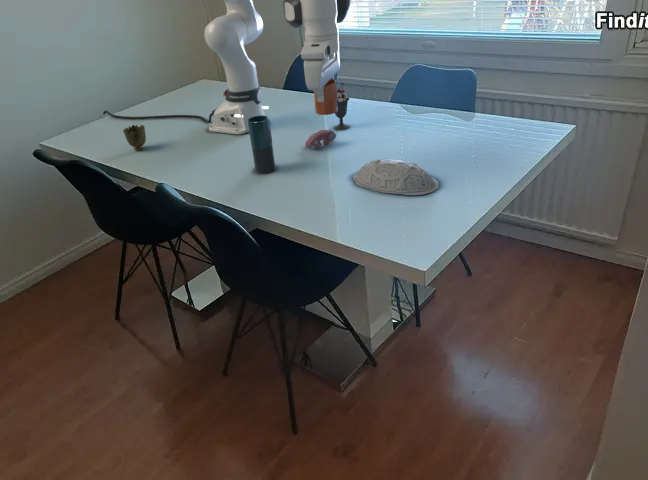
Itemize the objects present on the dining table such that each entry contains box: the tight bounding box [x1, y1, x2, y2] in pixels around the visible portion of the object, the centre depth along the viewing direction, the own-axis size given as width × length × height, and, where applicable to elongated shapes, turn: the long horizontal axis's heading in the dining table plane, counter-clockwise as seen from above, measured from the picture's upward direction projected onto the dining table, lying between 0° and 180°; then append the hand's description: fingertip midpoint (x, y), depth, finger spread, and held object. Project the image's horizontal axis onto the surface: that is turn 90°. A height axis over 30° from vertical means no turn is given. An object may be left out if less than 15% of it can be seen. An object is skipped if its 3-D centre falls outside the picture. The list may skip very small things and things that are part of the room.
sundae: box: [334, 82, 350, 131], centre depth 190 cm, size 7×7×15 cm
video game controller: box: [304, 128, 337, 149], centre depth 179 cm, size 10×5×7 cm, turn 117°
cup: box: [313, 79, 338, 116], centre depth 153 cm, size 6×6×8 cm
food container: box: [352, 158, 440, 196], centre depth 152 cm, size 16×25×7 cm, turn 52°
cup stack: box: [247, 115, 277, 175], centre depth 165 cm, size 6×6×16 cm
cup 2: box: [122, 124, 147, 152], centre depth 194 cm, size 8×7×8 cm
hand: (325, 97), depth 153 cm, fingers closed on cup, 6 cm apart
